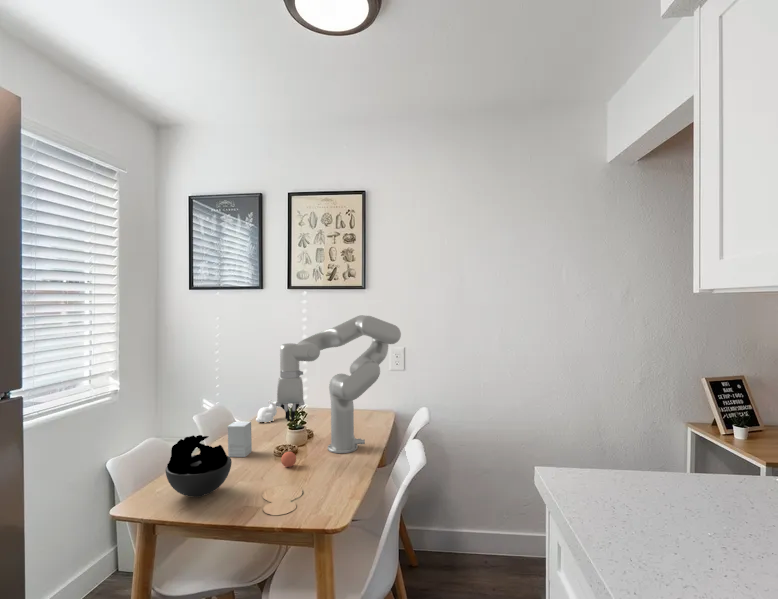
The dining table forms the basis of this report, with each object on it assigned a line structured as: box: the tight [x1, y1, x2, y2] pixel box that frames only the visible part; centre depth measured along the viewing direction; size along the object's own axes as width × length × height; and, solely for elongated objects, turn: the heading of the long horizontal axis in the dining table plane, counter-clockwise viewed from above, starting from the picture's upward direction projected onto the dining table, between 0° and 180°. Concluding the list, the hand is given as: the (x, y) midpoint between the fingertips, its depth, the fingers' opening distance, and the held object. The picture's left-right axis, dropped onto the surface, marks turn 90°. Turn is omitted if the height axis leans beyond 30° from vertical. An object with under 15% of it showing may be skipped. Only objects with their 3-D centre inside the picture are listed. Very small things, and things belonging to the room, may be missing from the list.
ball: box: [280, 451, 297, 468], centre depth 175 cm, size 6×6×6 cm
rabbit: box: [255, 398, 278, 423], centre depth 238 cm, size 12×9×12 cm
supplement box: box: [227, 421, 253, 458], centre depth 189 cm, size 7×7×13 cm
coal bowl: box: [165, 434, 233, 498], centre depth 151 cm, size 20×20×19 cm
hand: (290, 420), depth 184 cm, fingers closed
